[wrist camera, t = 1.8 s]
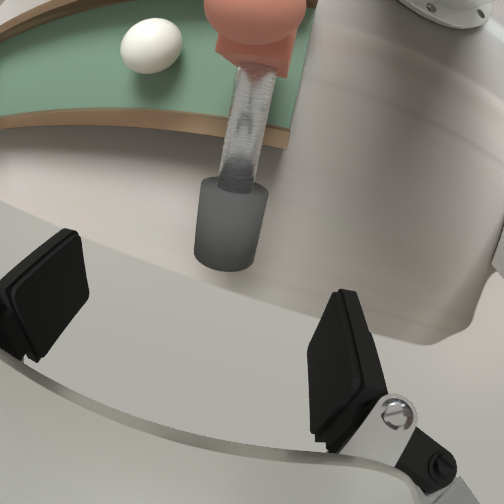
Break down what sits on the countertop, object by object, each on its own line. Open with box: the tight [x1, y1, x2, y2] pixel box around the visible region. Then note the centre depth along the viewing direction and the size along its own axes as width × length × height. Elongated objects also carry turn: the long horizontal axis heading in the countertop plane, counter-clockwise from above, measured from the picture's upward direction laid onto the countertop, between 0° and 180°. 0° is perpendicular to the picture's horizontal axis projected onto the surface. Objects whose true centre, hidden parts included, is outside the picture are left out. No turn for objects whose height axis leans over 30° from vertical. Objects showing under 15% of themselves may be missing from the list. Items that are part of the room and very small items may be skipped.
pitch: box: [0, 0, 318, 150], centre depth 14 cm, size 11×36×4 cm, turn 80°
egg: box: [120, 18, 183, 74], centre depth 13 cm, size 4×4×4 cm
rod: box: [194, 0, 306, 272], centre depth 11 cm, size 14×3×12 cm, turn 169°
